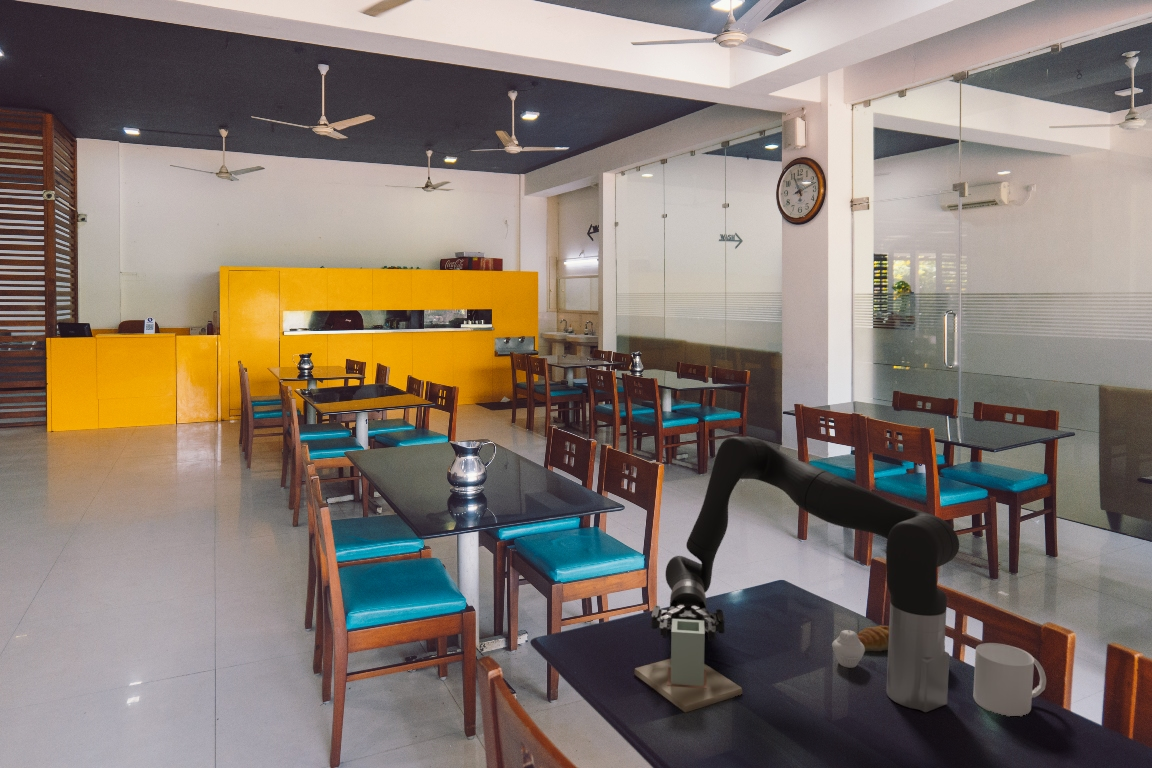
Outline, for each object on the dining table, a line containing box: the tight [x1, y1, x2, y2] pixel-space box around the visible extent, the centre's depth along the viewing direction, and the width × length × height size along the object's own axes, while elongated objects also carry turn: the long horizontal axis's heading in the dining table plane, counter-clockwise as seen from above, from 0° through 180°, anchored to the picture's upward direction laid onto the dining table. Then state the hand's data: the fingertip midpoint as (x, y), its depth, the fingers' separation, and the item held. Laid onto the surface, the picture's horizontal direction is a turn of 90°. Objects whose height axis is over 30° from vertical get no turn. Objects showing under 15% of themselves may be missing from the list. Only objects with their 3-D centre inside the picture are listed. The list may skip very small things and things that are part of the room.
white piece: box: [831, 629, 866, 669], centre depth 151 cm, size 6×6×7 cm
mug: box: [972, 642, 1047, 717], centre depth 135 cm, size 12×9×9 cm
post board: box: [634, 658, 743, 713], centre depth 143 cm, size 16×13×6 cm
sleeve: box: [670, 619, 706, 686], centre depth 142 cm, size 6×6×10 cm
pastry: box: [856, 624, 889, 652], centre depth 160 cm, size 9×7×4 cm
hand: (687, 634), depth 144 cm, fingers open, 8 cm apart
